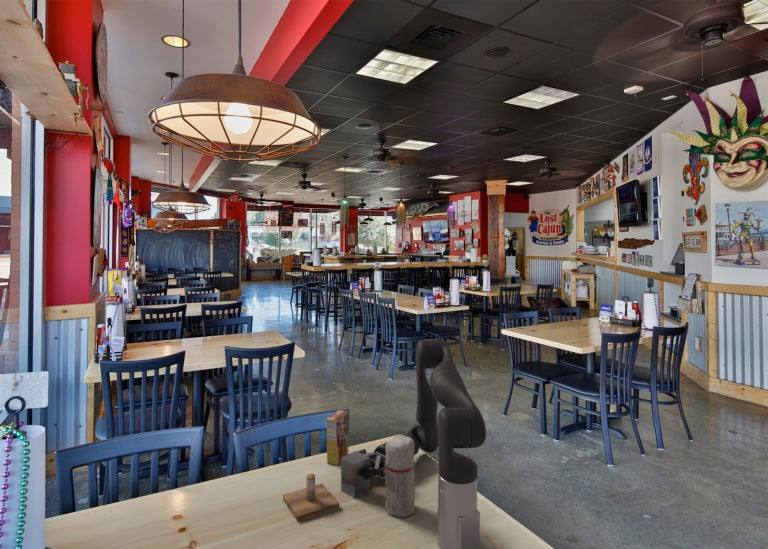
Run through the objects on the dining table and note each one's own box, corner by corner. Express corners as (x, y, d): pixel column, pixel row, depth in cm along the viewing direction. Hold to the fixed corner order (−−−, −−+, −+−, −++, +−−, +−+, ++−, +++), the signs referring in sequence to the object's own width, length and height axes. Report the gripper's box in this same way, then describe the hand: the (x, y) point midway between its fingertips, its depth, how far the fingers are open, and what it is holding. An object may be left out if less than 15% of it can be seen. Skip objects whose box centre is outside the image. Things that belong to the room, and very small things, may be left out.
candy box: (337, 452, 155) (337, 409, 154) (348, 454, 153) (348, 411, 153) (325, 463, 146) (325, 418, 146) (337, 465, 145) (337, 420, 144)
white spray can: (412, 521, 115) (413, 446, 114) (382, 517, 117) (382, 443, 116) (417, 503, 123) (417, 433, 122) (388, 499, 125) (388, 430, 124)
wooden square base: (339, 508, 121) (339, 479, 120) (297, 522, 114) (297, 491, 114) (322, 488, 131) (322, 461, 131) (283, 499, 125) (282, 471, 124)
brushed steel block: (369, 490, 130) (369, 457, 129) (354, 498, 126) (354, 464, 125) (356, 482, 134) (356, 450, 134) (341, 490, 130) (341, 457, 129)
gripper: (376, 435, 146) (338, 451, 134) (408, 448, 136) (371, 466, 124) (376, 457, 146) (338, 475, 134) (408, 472, 136) (371, 492, 124)
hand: (354, 471), depth 129 cm, fingers open, 8 cm apart
